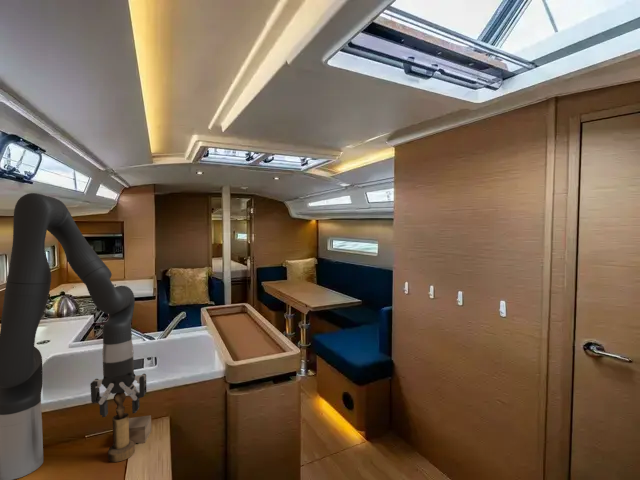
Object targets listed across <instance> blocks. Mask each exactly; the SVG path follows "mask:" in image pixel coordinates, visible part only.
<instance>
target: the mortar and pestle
mask: <svg viewBox="0 0 640 480" xmlns="http://www.w3.org/2000/svg"><path fill="white" fill-rule="evenodd" d="M126 396H127V395H126V392H124V393H116V394H113V401H114V403H115V405H116V406H117V407H116V408H115V412H116V415H114V416H113V417H112V437H113V439H112V440H113V443H112V446H110V447H109V448H108V451H107V457H108V461H109V462H112V463H119V462H123V461H125V460H127V459H129V458H131V457H132V456H133V455H134V454H135V451H136V447H135V446H136V444H134V442H133V441H131V440H129V418H130V417H129V413H128V412H125V409H126V408H125V407H126V406H124V402H125V400H126V398H127V397H126Z"/></svg>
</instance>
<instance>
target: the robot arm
mask: <svg viewBox="0 0 640 480" xmlns="http://www.w3.org/2000/svg"><path fill="white" fill-rule="evenodd" d="M76 223H77V222H76V221H75V220H74V218H73V216H72V214H71V212H70V211H69V209H68V207H67V206H66V204H65V203H64V202H63V201H62V200H60V199H58V198H55V197H54V196H49V195H45V194H42V193H37V192H29V193H26V194H23V195H22V196H20V197H19V198H18V200H17V201H16V203H15V205H14V210H13V223H12V224H13V225H12V229H13V230H12V231H13V232H12V234H13V235H12V246H11V247H12V248H11V253H10V262H9V267H8V272H7V273H8V274H7V278H6V283H5V289H4V295H3V302H2V304H3V305H2V311H1V318H0V319H1V321H0V323H1V324H0V480H16V479H20V478H22V477H25V476H28V475H29V474H31V473H33V472H34V471H36V470H38V469H39V468H40V467H41V466H42V465H43V464H44V448H43V447H44V445H43V444H44V443H43V442H44V441H43V439H44V438H43V417H42V391H43V379H44V378H43V376H44V375H43V373H44V371H43V356H42V353H41V352H40V351H41V350H40V349H38V348H37V347H36V346H35V343H36V334H37V331H38V328H39V325H40V322H41V320H42V317H43V315H44V312H45V310H46V308H47V304H48V301H49V296H50V291H51V284H52V271H51V266H50V265H49V261H48V257H47V254H46V250H45V249H46V248H45V247H46V246H45V244H46V243H45V242H46V237H47V231H48V233H50V234H51V235H52V236H53V237H54V238H55V239H56V240H57V241H58V243H59V245H60V246H61V248H62V249H63V252H64V254H65V258H66V260H67V262H68V264H69V266H70V268H71V269H72V271H73V272H74V273H75V275H76V276H77V277H78V278H79V279H80V281H82V283H83V284H84V285H85V286H86V289H87V292H88V293H89V296H90V298H91V300H92V303H93V304H94V305H95V307H96V308H97V309H98V310H99V311H100V312H102V313H104V314H107V315H108V319H107V321H105V323H104V324H103V326H102V352H101V353H102V376H103V378H101V379H99V378H95V379H93V380H92V381H91V382H90V385H89V387H90V397H91V398H90V399H91V400H90V401H91V403H92V404H99V415H100V416H102V418H105V417H107V415H108V414H109V401H108V400H107V399H108V398H109V396H110V395H111V394H112V395H115V394H116V393H125V394H127V396H129V397H130V398H131V399H132V400H131V405H132V406H131V407H132V411H131V412H132V414H136V413H137V411H138V410H140V399H141V398H142V399H143V398H144V397H145V395H146V394H147V374H146V373H142V374H139V375H136V374H135V371H134V370H135V367H134V363H135V362H134V346H133V337H132V322H133V321H132V320H133V316H134V309H135V295H134V291H133V290H132V289H131V288H130V287H128V286H127V285H118V286H114V284H113V283H112V281H111V279H112V275H113V274H112V271H111V270H110V268H109V267H108V266H107V264H106V263H105V261H103V260H102V259H101V258H100V256H99V255H98V253H97V252H96V251H95V250H94V249H93V248H92V246H91V245H90V243H89V242H88V241H87V239H86V237H84V234H83V233H82V232H81V229H79V227H78V225H77V224H76ZM135 381H136V383H137V384H138V385H139V386H138V387H139V388H138V389H139V390H137V387H136V385H135V384H134V382H135ZM101 386H103V387H104V388H105V390H104V393H103V394H102V396H101V395H100V392H101V391H100V387H101Z"/></svg>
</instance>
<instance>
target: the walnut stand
mask: <svg viewBox="0 0 640 480" xmlns="http://www.w3.org/2000/svg"><path fill="white" fill-rule="evenodd" d="M151 433H152V415H144V416H135V417H129V440H131V441H133V442H134V444H135V445H137V444H136V443H140V444H144V443H145V442H147V441H148V439H149V437H150V434H151ZM146 440H147V441H146Z"/></svg>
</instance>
